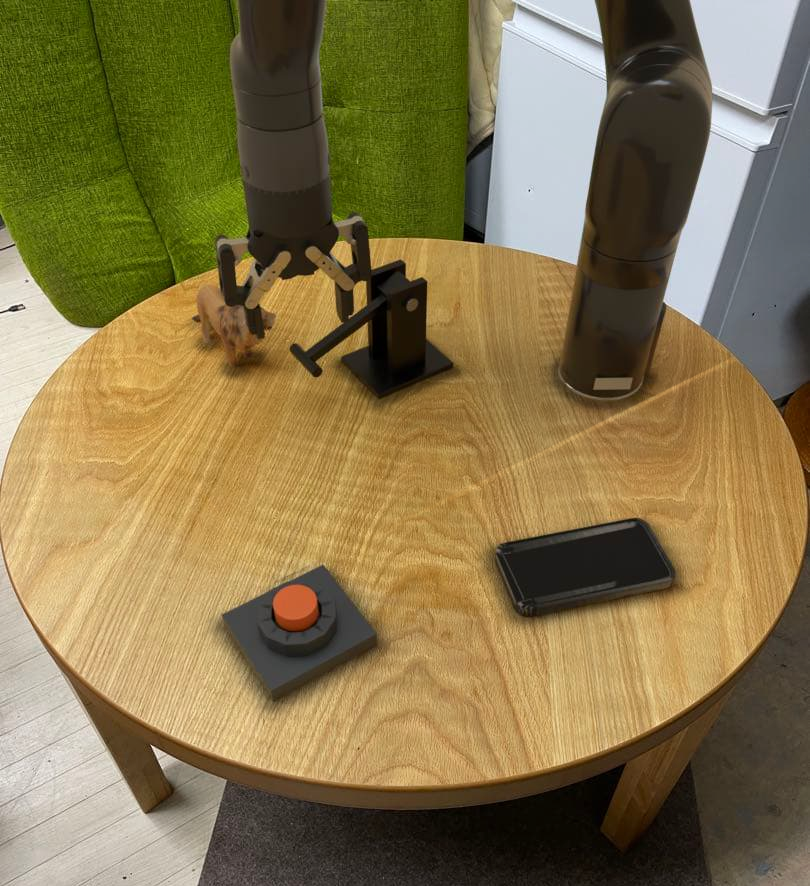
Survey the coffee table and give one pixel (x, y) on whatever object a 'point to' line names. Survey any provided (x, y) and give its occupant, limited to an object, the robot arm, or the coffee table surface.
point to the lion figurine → (228, 322)
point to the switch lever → (345, 327)
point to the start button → (295, 608)
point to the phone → (583, 566)
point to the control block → (299, 635)
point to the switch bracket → (396, 338)
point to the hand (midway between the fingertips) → (301, 326)
